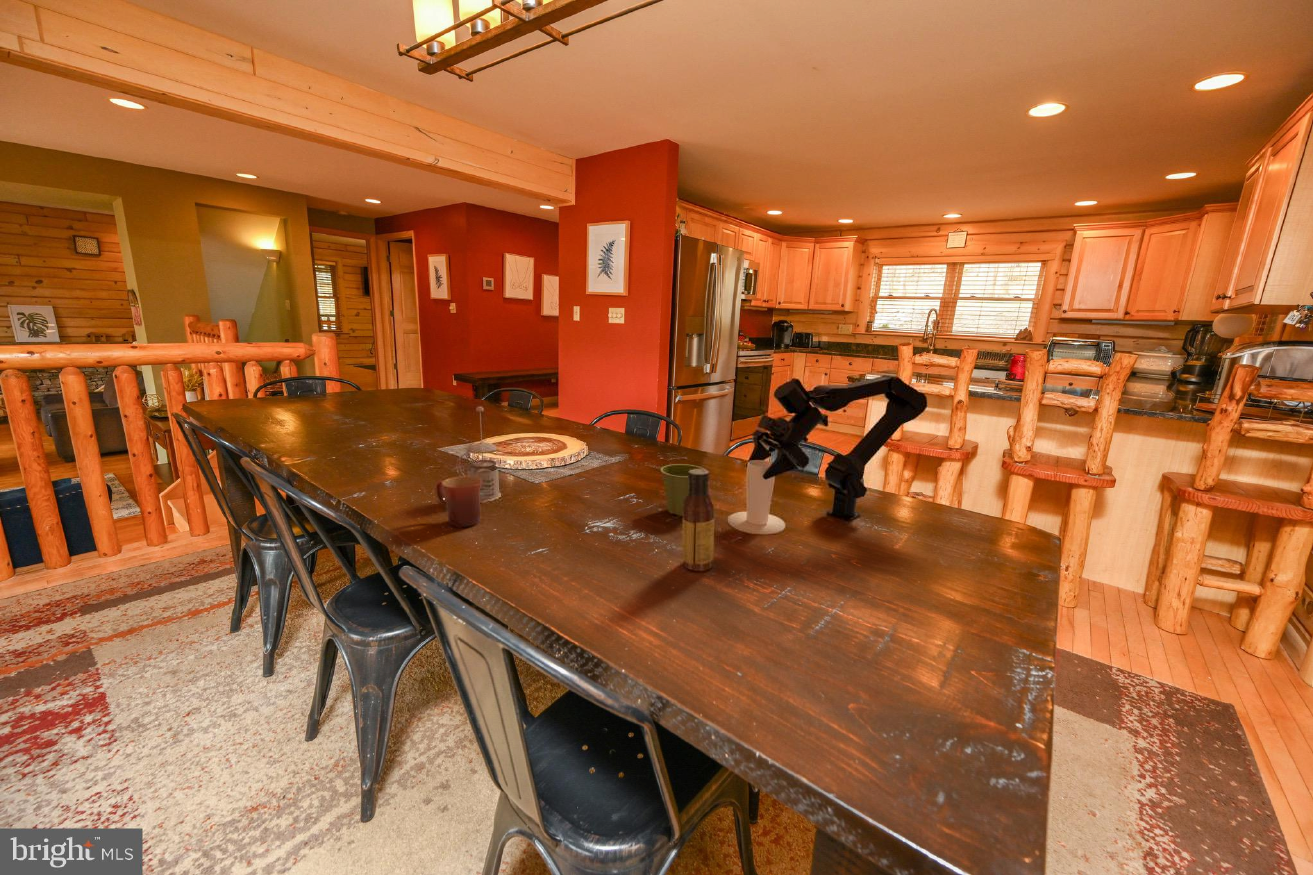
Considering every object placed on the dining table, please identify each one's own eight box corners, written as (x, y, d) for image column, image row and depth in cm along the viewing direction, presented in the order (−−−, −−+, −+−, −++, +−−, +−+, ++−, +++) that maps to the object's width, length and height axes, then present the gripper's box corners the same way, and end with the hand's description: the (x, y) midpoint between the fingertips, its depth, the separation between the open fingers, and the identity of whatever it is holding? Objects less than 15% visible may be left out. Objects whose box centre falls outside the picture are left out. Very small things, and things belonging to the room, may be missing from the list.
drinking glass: (775, 521, 124) (780, 463, 121) (763, 529, 119) (768, 469, 116) (750, 514, 128) (755, 458, 125) (738, 522, 123) (742, 463, 120)
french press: (496, 504, 130) (492, 410, 125) (452, 503, 130) (446, 408, 125) (507, 492, 140) (504, 404, 134) (466, 490, 140) (461, 402, 134)
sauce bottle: (715, 561, 103) (721, 469, 98) (708, 575, 97) (714, 477, 92) (685, 556, 105) (689, 465, 100) (676, 569, 99) (680, 473, 94)
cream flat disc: (750, 508, 133) (750, 507, 133) (796, 524, 123) (796, 523, 123) (716, 521, 124) (716, 519, 124) (762, 539, 114) (762, 538, 114)
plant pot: (714, 514, 128) (716, 472, 126) (677, 523, 122) (678, 479, 119) (686, 500, 138) (687, 461, 135) (650, 508, 131) (651, 467, 129)
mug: (491, 519, 120) (490, 479, 118) (465, 533, 112) (463, 489, 110) (453, 511, 125) (450, 472, 122) (425, 523, 117) (422, 482, 115)
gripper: (761, 398, 127) (719, 441, 126) (802, 410, 109) (753, 461, 109) (786, 427, 131) (745, 470, 130) (829, 444, 113) (782, 493, 113)
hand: (755, 472), depth 120 cm, fingers open, 8 cm apart
